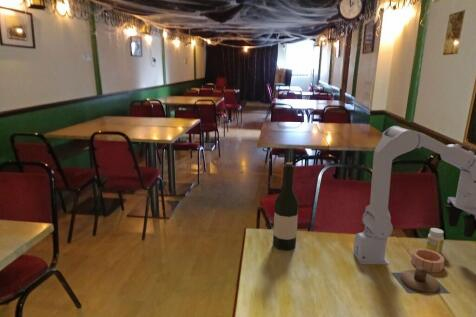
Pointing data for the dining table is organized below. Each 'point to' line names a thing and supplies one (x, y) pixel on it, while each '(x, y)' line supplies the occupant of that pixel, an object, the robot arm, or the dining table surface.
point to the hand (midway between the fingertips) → (460, 231)
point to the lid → (420, 280)
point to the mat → (409, 290)
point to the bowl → (427, 259)
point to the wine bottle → (286, 213)
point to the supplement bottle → (435, 240)
